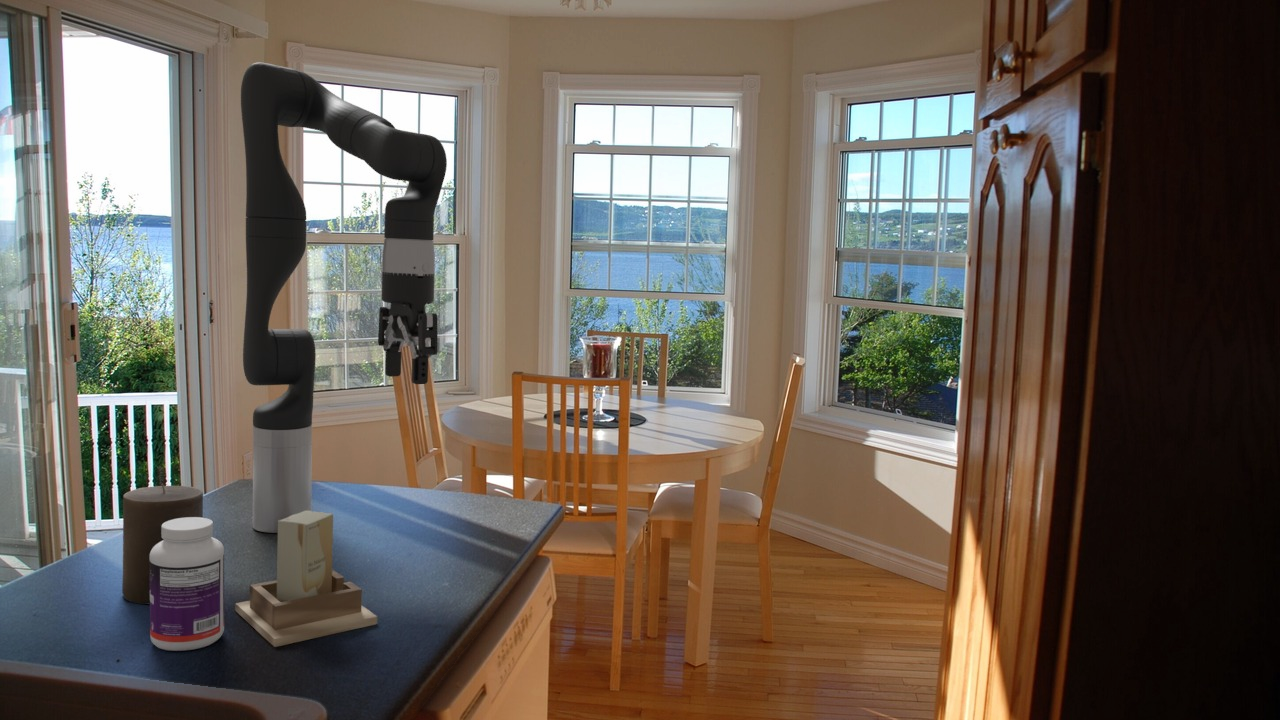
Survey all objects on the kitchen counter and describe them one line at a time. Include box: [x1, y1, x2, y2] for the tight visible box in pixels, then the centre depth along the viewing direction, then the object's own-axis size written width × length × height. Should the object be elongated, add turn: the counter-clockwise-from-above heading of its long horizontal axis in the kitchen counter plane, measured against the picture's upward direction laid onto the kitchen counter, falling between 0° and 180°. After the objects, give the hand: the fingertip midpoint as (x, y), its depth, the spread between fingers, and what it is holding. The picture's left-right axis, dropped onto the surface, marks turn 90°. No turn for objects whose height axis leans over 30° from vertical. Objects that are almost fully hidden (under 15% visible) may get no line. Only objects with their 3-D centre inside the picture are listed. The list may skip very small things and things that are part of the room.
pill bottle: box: [149, 517, 225, 652], centre depth 115 cm, size 8×8×14 cm
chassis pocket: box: [234, 569, 378, 648], centre depth 124 cm, size 14×13×4 cm
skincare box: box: [276, 510, 334, 602], centre depth 124 cm, size 6×4×12 cm
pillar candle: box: [121, 483, 204, 605], centre depth 130 cm, size 10×10×15 cm
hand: (406, 379), depth 144 cm, fingers open, 8 cm apart
